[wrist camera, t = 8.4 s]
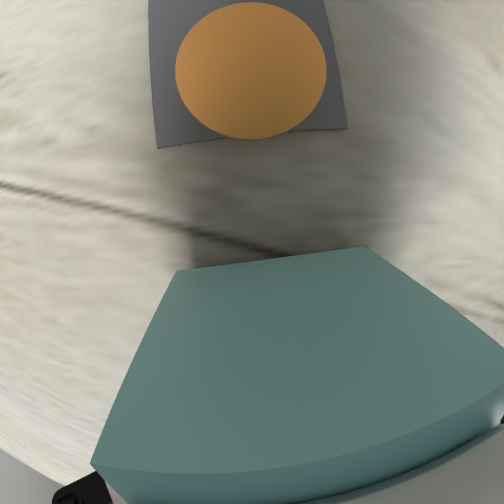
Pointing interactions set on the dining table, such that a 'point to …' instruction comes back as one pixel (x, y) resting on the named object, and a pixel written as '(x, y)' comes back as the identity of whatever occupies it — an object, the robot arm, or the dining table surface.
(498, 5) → the dining table surface
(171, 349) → the light teal cube-like block
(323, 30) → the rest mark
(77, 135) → the dining table surface
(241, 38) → the ball
